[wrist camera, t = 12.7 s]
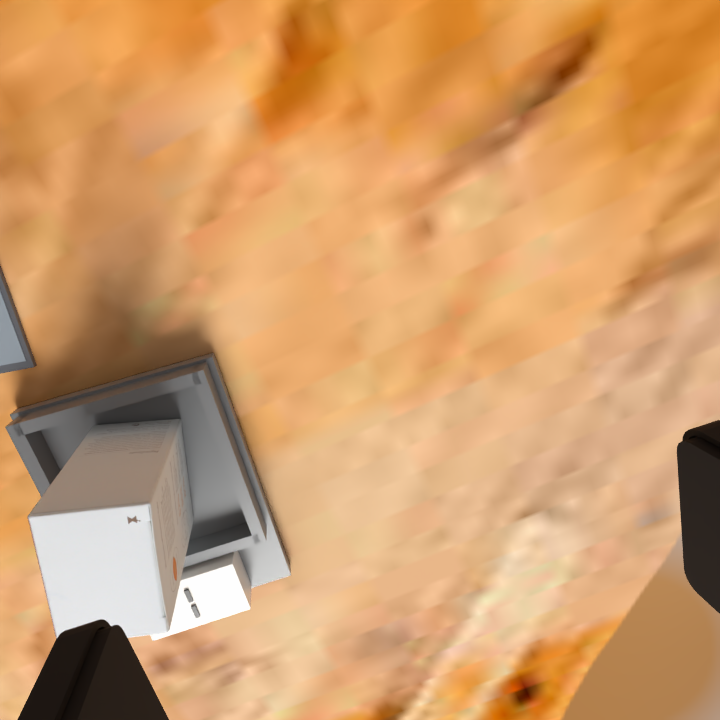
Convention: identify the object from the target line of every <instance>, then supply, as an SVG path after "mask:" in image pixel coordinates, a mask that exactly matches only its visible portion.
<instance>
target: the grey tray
mask: <svg viewBox="0 0 720 720" xmlns="http://www.w3.org/2000/svg"><path fill="white" fill-rule="evenodd" d="M10 416H11V418H12V420H13V421H12V422H10V423H9V424H8V425H7V426H6V429H7V431H8V433H9V435H10V437H11V439H12V441H13V443H14V445H15V447H16V449H17V451H18V453H19V454H20V456H21V458H22V460H23V462H24V464H25V466H26V468H27V470H28V472H29V474H30V476H31V478H32V479H33V481H34V483H35V485H36V487H37V489H38V491H39V493H40V495H41V497H42V496H43V494H44V493H45V492H46V490H47V489H48V487H49V486H50V485H51V483H52V482H53V481H54V479H55V478H56V476H57V475H58V474H59V472H60V471H61V470H62V468H63V467H64V466H65V464H66V463H67V462H68V460H69V459H70V458H71V456H72V455H73V453H74V452H75V450H76V449H77V448H78V446H79V445H80V444H81V442H82V441H83V439H84V438H85V437H86V435H87V434H88V433H89V431H90V430H91V429H92V427H93V426H94V425H102V424H115V423H128V422H142V421H156V420H169V419H181V423H182V433H183V441H184V449H185V456H186V464H187V472H188V480H189V487H190V495H191V503H192V511H193V517H194V521H193V525H192V530H191V534H190V539H189V543H188V548H187V552H186V557H185V562H184V566H183V571H182V576H181V580H180V585H179V590H178V594H177V599H176V603H175V608H174V613H173V617H172V622H171V626H170V630H169V631H168V632H166V633H160V634H152V635H150V636H151V638H152V640H153V641H154V640H157V639H160V638H163V637H166V636H169V635H173V634H176V633H179V632H182V631H185V630H188V629H191V628H194V627H197V626H200V625H203V624H206V623H209V622H212V621H215V620H218V619H221V618H224V617H227V616H230V615H234V614H237V613H240V612H243V611H246V610H249V609H251V588H253V587H256V586H259V585H262V584H265V583H269V582H272V581H275V580H278V579H281V578H284V577H287V576H290V575H291V568H290V564H289V561H288V558H287V556H286V553H285V550H284V547H283V545H282V542H281V539H280V536H279V533H278V531H277V528H276V525H275V522H274V519H273V517H272V514H271V511H270V508H269V505H268V503H267V500H266V497H265V494H264V492H263V489H262V486H261V483H260V480H259V478H258V475H257V472H256V469H255V466H254V464H253V461H252V458H251V455H250V453H249V450H248V447H247V444H246V441H245V439H244V436H243V433H242V430H241V427H240V425H239V422H238V419H237V416H236V413H235V411H234V408H233V405H232V402H231V400H230V397H229V394H228V391H227V388H226V386H225V383H224V380H223V377H222V374H221V372H220V369H219V366H218V363H217V360H216V358H215V355H214V353H210V354H207V355H204V356H200V357H197V358H193V359H190V360H186V361H183V362H179V363H176V364H172V365H169V366H165V367H162V368H158V369H155V370H151V371H148V372H144V373H141V374H137V375H134V376H130V377H127V378H123V379H120V380H116V381H113V382H109V383H106V384H102V385H99V386H95V387H92V388H88V389H85V390H81V391H78V392H74V393H71V394H67V395H64V396H60V397H57V398H53V399H50V400H46V401H43V402H39V403H36V404H32V405H29V406H25V407H22V408H18V409H16V410H15V411H14V412H13V413H11V414H10Z"/></svg>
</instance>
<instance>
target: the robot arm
mask: <svg viewBox="0 0 720 720" xmlns="http://www.w3.org/2000/svg"><path fill="white" fill-rule="evenodd" d="M677 461H678V477H679V494H680V510H681V526H682V541H683V559H684V570H685V574H686V577H687V579H688V581H689V583H690V585H691V586H692V587H693V589H694V590H695V591H696V592H697V593H698V594H699V595H700V596H701V597H702V598H703V599H704V600H705V601H707V602H708V603H709V604H710V605H711V606H712V607H713V608H714V609H715V610H716V611H717V612H719V613H720V420H718V421H715V422H711V423H708V424H705V425H702V426H699V427H696V428H693V429H690V430H688V431H686V432H685V434H684V436H683V441H682V442H680V443H679V444H678V446H677ZM18 720H169V719H168V717H167V715H166V713H165V711H164V709H163V707H162V705H161V703H160V701H159V699H158V697H157V695H156V693H155V691H154V689H153V687H152V685H151V684H150V682H149V680H148V678H147V676H146V674H145V672H144V670H143V668H142V666H141V664H140V662H139V660H138V658H137V656H136V654H135V652H134V650H133V648H132V646H131V644H130V642H129V640H128V638H127V636H126V634H125V632H124V631H123V629H122V628H121V627H120V626H119V625H113V626H110V624H109V623H108V622H107V621H106V620H104V619H99V620H96V621H93V622H90V623H87V624H84V625H81V626H78V627H75V628H71V629H68V630H65V631H64V632H62V633H61V634H60V635H59V636H58V638H57V639H56V641H55V643H54V645H53V647H52V649H51V652H50V654H49V656H48V658H47V660H46V662H45V664H44V666H43V668H42V670H41V672H40V674H39V676H38V679H37V681H36V683H35V685H34V687H33V689H32V691H31V693H30V695H29V697H28V699H27V701H26V703H25V705H24V708H23V710H22V712H21V714H20V716H19V718H18Z"/></svg>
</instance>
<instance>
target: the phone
mask: <svg viewBox="0 0 720 720" xmlns="http://www.w3.org/2000/svg"><path fill="white" fill-rule="evenodd" d="M35 366H36V362H35V360H34V357H33V354H32V351H31V349H30V346H29V343H28V340H27V338H26V335H25V332H24V329H23V327H22V324H21V321H20V318H19V316H18V313H17V310H16V307H15V305H14V302H13V299H12V296H11V294H10V291H9V288H8V285H7V283H6V280H5V277H4V274H3V272H2V269H1V266H0V373H5V372H11V371H16V370H21V369H27V368H32V367H35Z"/></svg>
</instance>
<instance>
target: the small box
mask: <svg viewBox="0 0 720 720" xmlns="http://www.w3.org/2000/svg"><path fill="white" fill-rule="evenodd" d="M28 520H29V524H30V529H31V533H32V538H33V542H34V546H35V550H36V554H37V558H38V563H39V567H40V571H41V575H42V579H43V584H44V588H45V592H46V596H47V600H48V605H49V609H50V613H51V617H52V622H53V626H54V631H55V635H56V639H57V638H58V636H59V635H60V634H61V633H62V632H64V631H65V630H68V629H71V628H75V627H78V626H81V625H84V624H87V623H90V622H93V621H96V620H99V619H104V620H106V621H107V622H108V623H109V624H110V626H113V625H119V626H120V627H121V628H122V629H123V631H124V632H125V634H126V636H127V638H129V637H137V636H144V635H152V634H160V633H166V632H168V631H169V630H170V626H171V622H172V617H173V613H174V608H175V603H176V599H177V594H178V590H179V585H180V580H181V576H182V571H183V566H184V562H185V557H186V552H187V548H188V543H189V539H190V534H191V530H192V525H193V521H194V517H193V511H192V503H191V495H190V487H189V480H188V472H187V464H186V456H185V449H184V441H183V433H182V423H181V419H169V420H156V421H142V422H128V423H115V424H102V425H94V426H93V427H92V429H91V430H90V431H89V433H88V434H87V435H86V437H85V438H84V439H83V441H82V442H81V444H80V445H79V446H78V448H77V449H76V450H75V452H74V453H73V455H72V456H71V458H70V459H69V460H68V462H67V463H66V464H65V466H64V467H63V468H62V470H61V471H60V472H59V474H58V475H57V476H56V478H55V479H54V481H53V482H52V483H51V485H50V486H49V487H48V489H47V490H46V492H45V493H44V494H43V496H42V497H41V499H40V500H39V502H38V503H37V504H36V505H35V507H34V508H33V510H32V511H31V512H30V514H29V515H28Z"/></svg>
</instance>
